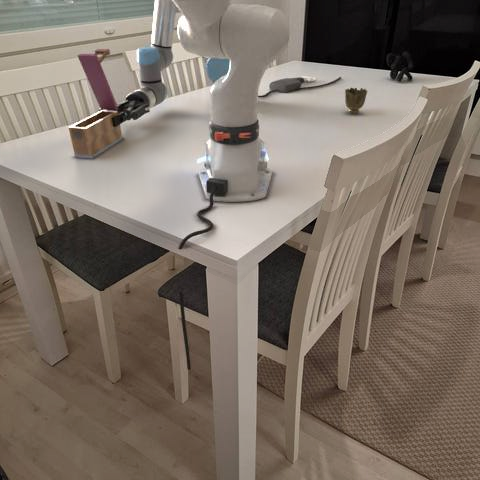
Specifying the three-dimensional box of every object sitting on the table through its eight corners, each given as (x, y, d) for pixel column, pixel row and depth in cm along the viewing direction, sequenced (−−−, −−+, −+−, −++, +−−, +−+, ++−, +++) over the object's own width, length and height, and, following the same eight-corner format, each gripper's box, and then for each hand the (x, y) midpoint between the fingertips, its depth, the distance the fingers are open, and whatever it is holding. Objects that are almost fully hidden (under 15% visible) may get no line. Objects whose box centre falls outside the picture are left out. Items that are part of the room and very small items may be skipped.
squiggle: (400, 92, 202) (376, 71, 205) (417, 76, 202) (392, 56, 205) (405, 81, 191) (380, 59, 194) (423, 64, 191) (397, 42, 194)
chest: (92, 158, 126) (85, 128, 121) (75, 157, 127) (68, 127, 123) (122, 139, 140) (118, 111, 135) (106, 137, 141) (101, 110, 136)
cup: (340, 114, 157) (342, 91, 153) (346, 109, 163) (348, 86, 159) (361, 116, 154) (364, 93, 150) (366, 111, 160) (369, 88, 156)
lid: (94, 56, 121) (107, 40, 125) (77, 55, 122) (90, 39, 127) (116, 110, 134) (128, 94, 139) (100, 109, 136) (112, 93, 140)
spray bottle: (266, 89, 189) (298, 79, 205) (288, 93, 183) (318, 83, 199) (266, 82, 188) (298, 73, 204) (288, 85, 182) (319, 76, 198)
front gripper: (81, -62, 118) (91, -2, 125) (30, -65, 101) (45, 4, 109) (102, -63, 116) (111, -2, 124) (54, -66, 100) (67, 4, 107)
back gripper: (166, 114, 152) (134, 136, 133) (117, 110, 157) (80, 131, 138) (163, 91, 148) (130, 111, 129) (114, 88, 153) (74, 107, 134)
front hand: (80, 1), depth 116 cm, fingers open, 8 cm apart
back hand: (104, 121), depth 134 cm, fingers closed on chest, 6 cm apart
